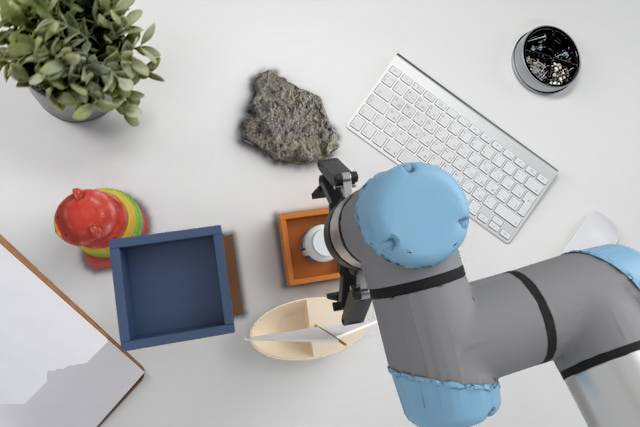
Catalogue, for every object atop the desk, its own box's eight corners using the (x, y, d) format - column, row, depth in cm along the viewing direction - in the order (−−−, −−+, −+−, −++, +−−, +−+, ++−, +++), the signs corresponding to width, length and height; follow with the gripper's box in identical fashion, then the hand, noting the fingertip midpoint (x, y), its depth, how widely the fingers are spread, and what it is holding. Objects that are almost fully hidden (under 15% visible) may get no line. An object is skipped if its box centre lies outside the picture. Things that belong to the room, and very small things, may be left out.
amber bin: (353, 274, 83) (359, 274, 79) (286, 285, 81) (289, 285, 77) (343, 208, 84) (348, 205, 80) (277, 217, 82) (279, 214, 78)
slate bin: (243, 313, 80) (250, 344, 46) (161, 327, 78) (108, 369, 44) (232, 235, 81) (232, 209, 47) (151, 246, 79) (91, 228, 45)
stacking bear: (67, 204, 77) (19, 184, 60) (136, 182, 79) (109, 157, 62) (90, 273, 77) (49, 274, 59) (159, 250, 79) (138, 244, 61)
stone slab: (316, 185, 84) (319, 182, 81) (223, 131, 82) (223, 126, 79) (352, 120, 86) (357, 115, 83) (262, 67, 85) (264, 59, 82)
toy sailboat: (253, 406, 55) (243, 320, 55) (247, 364, 79) (240, 305, 80) (442, 372, 58) (430, 292, 59) (380, 342, 83) (372, 286, 84)
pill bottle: (339, 250, 83) (353, 247, 73) (311, 269, 82) (322, 269, 72) (320, 221, 83) (332, 214, 73) (292, 240, 82) (300, 236, 72)
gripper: (426, 354, 50) (370, 332, 71) (383, 101, 53) (341, 152, 74) (350, 368, 49) (315, 341, 70) (310, 109, 51) (288, 158, 72)
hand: (328, 244), depth 72 cm, fingers open, 13 cm apart
